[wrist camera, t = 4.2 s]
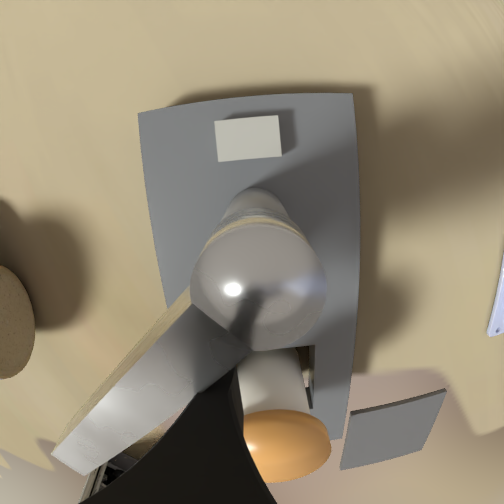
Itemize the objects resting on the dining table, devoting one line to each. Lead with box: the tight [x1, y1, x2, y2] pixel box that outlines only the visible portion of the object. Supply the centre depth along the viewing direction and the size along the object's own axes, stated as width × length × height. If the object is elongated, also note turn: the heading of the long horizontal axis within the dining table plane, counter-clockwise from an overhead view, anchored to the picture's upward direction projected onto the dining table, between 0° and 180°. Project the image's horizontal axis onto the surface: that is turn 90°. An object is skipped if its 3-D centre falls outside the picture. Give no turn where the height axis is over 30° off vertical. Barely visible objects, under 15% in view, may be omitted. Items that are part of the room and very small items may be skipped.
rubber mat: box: [340, 388, 447, 470], centre depth 20 cm, size 8×8×1 cm
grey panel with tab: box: [138, 93, 360, 440], centre depth 13 cm, size 9×20×7 cm, turn 5°
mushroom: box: [237, 347, 331, 483], centre depth 14 cm, size 5×5×7 cm
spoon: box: [51, 208, 327, 476], centre depth 8 cm, size 3×12×2 cm, turn 137°
